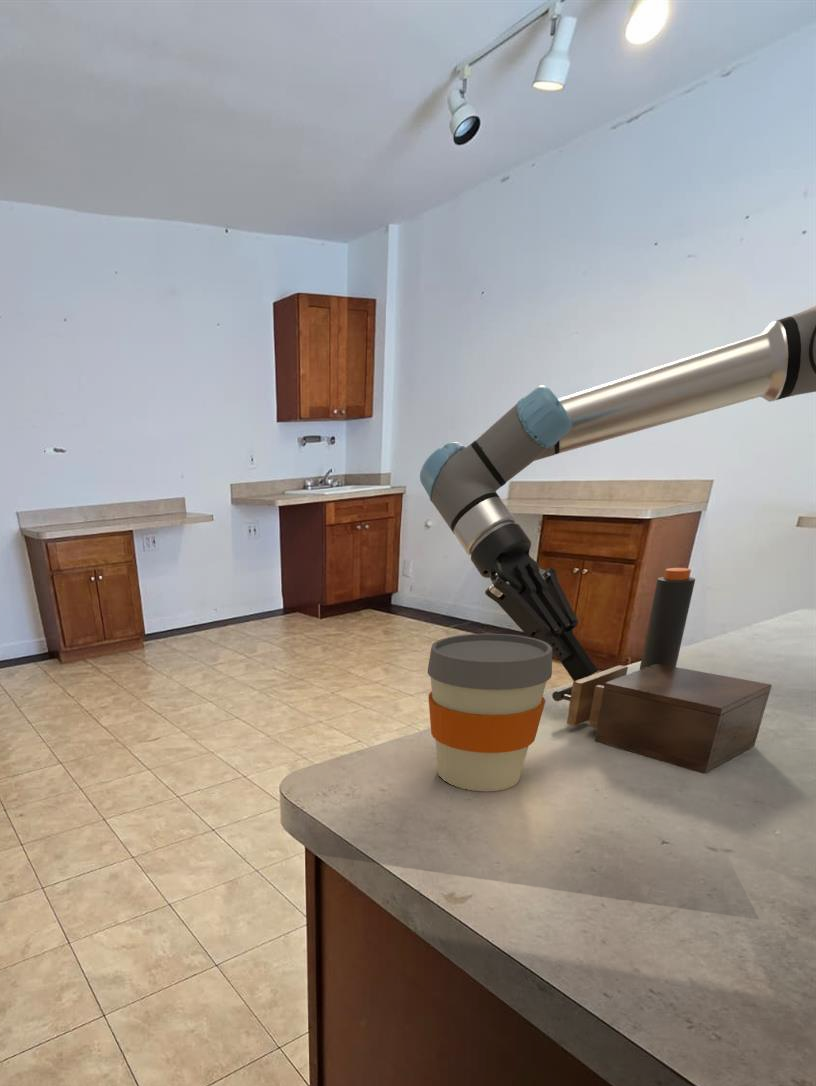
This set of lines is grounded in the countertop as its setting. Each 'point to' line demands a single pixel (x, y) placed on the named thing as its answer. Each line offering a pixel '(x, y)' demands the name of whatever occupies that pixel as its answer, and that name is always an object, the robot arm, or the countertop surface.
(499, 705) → the reusable coffee cup
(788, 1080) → the countertop surface
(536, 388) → the robot arm
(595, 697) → the drawer
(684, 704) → the cabinet
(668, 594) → the spray can
